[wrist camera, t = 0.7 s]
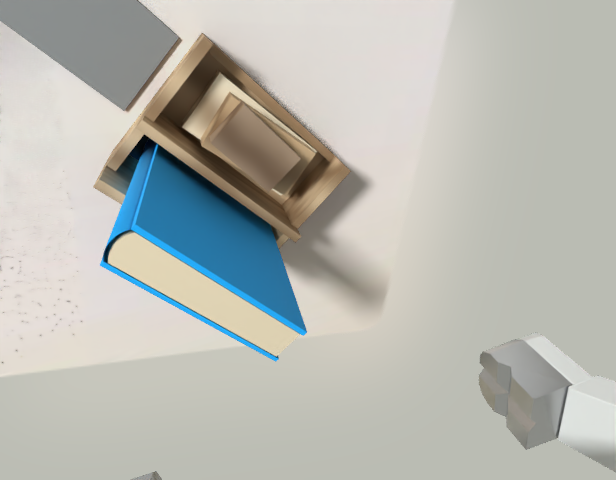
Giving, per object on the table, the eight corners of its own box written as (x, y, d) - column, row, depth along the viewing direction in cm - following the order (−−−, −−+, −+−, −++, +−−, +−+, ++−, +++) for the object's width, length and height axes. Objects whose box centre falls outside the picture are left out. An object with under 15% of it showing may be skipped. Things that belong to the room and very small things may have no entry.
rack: (202, 32, 44) (206, 38, 35) (333, 153, 55) (363, 183, 45) (111, 152, 48) (93, 187, 38) (250, 245, 58) (263, 289, 49)
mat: (-28, -147, 34) (-31, -149, 34) (178, 37, 44) (178, 37, 44) (-86, -44, 36) (-89, -44, 36) (124, 110, 46) (124, 111, 46)
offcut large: (217, 69, 45) (219, 73, 43) (310, 144, 52) (317, 151, 50) (182, 120, 47) (182, 127, 44) (276, 187, 54) (281, 195, 51)
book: (265, 209, 56) (312, 330, 35) (244, 231, 57) (278, 363, 36) (156, 124, 47) (131, 217, 26) (133, 152, 48) (92, 263, 27)
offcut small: (241, 100, 42) (244, 105, 40) (295, 152, 46) (300, 158, 44) (209, 136, 43) (210, 143, 41) (265, 184, 47) (268, 192, 45)
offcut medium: (229, 91, 44) (231, 96, 41) (309, 146, 49) (315, 153, 47) (200, 138, 45) (201, 146, 43) (280, 186, 51) (285, 196, 48)
